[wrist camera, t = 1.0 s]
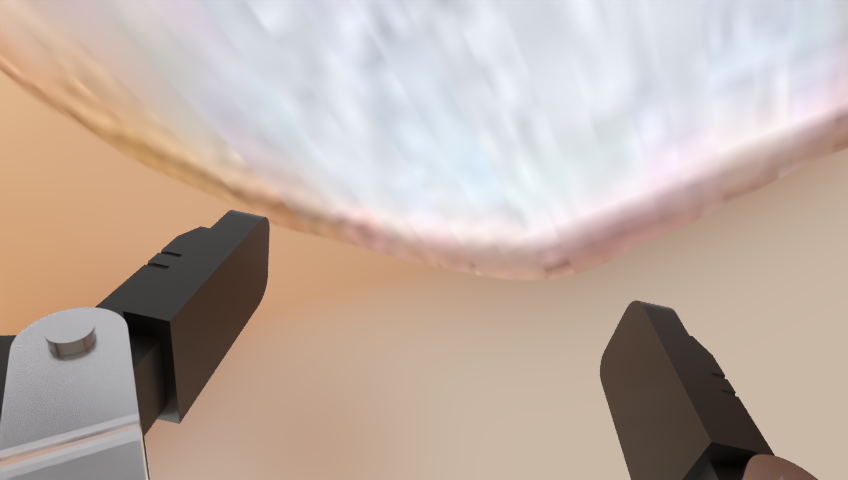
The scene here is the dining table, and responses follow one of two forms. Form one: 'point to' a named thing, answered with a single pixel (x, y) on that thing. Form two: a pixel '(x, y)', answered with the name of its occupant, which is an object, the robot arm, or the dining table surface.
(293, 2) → the dining table surface
